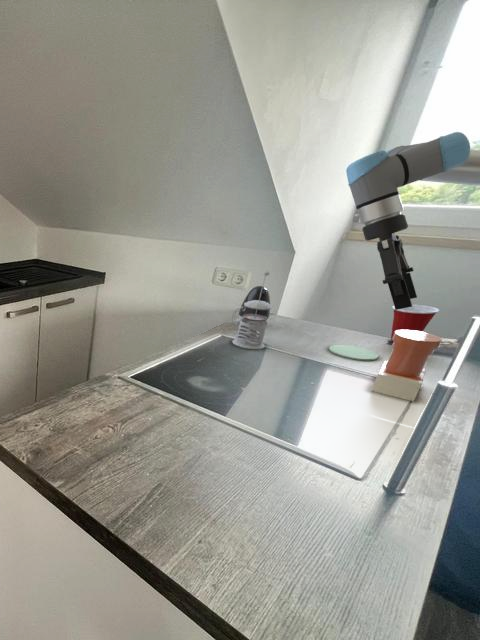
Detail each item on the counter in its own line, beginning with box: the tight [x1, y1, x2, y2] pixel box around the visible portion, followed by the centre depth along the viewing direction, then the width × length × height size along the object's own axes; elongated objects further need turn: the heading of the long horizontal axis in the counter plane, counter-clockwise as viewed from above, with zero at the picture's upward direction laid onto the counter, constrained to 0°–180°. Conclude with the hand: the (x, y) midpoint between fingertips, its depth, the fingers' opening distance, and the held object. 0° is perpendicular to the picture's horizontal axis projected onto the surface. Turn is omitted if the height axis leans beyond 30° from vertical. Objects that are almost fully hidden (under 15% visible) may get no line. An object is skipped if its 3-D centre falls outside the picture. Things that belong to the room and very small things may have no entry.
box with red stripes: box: [370, 360, 426, 402], centre depth 102 cm, size 12×8×5 cm
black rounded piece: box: [238, 285, 271, 325], centre depth 149 cm, size 10×10×15 cm
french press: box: [231, 270, 273, 350], centre depth 130 cm, size 10×12×25 cm
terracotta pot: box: [385, 330, 443, 377], centre depth 99 cm, size 8×8×10 cm
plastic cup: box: [390, 304, 440, 341], centre depth 130 cm, size 11×11×12 cm
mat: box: [328, 344, 379, 361], centre depth 125 cm, size 12×12×1 cm
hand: (406, 303), depth 94 cm, fingers open, 13 cm apart
